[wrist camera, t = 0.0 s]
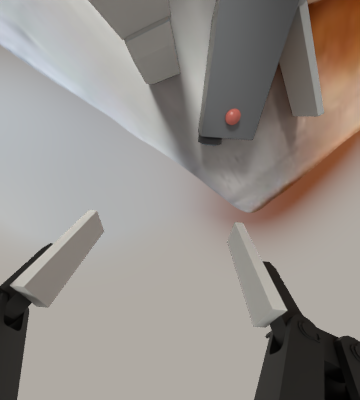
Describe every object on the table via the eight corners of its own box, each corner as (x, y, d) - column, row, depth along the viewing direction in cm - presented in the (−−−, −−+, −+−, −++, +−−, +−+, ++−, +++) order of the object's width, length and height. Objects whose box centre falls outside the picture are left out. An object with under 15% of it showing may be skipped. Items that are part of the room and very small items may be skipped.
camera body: (211, 18, 23) (224, -36, 15) (269, 22, 23) (314, -30, 15) (196, 139, 34) (199, 147, 26) (236, 142, 34) (252, 151, 26)
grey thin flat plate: (267, 26, 24) (296, -6, 17) (278, 17, 23) (311, -20, 17) (291, 117, 30) (317, 117, 24) (299, 111, 30) (329, 110, 24)
